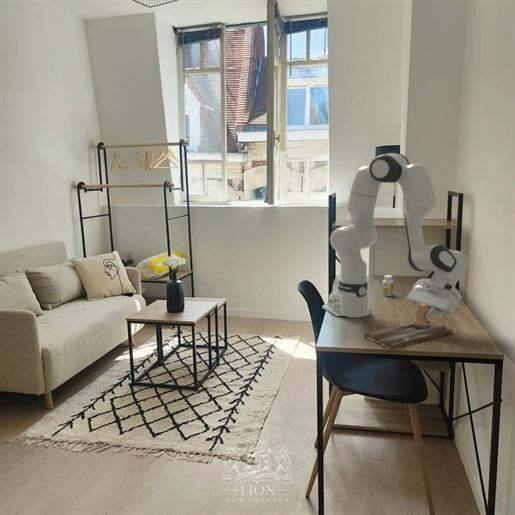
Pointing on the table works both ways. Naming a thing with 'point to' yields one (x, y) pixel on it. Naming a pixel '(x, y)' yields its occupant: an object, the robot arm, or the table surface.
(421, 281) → the sea urchin shell
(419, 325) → the fader tab
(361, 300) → the robot arm
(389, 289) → the supplement bottle
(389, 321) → the table surface
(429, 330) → the track board
